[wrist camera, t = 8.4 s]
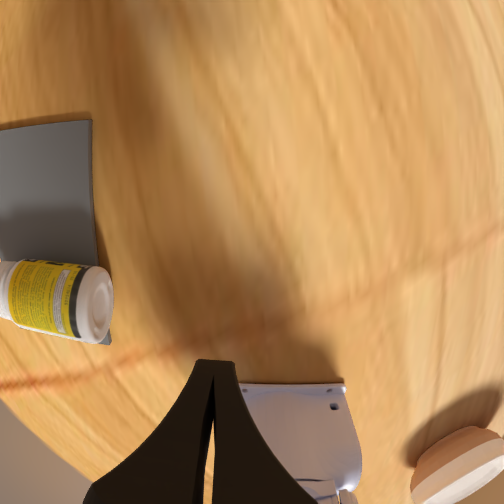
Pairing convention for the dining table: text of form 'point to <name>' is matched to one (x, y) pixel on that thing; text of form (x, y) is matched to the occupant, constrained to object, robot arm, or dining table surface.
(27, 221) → the mat
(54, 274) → the supplement bottle
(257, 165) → the dining table surface
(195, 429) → the robot arm
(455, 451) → the bowl
